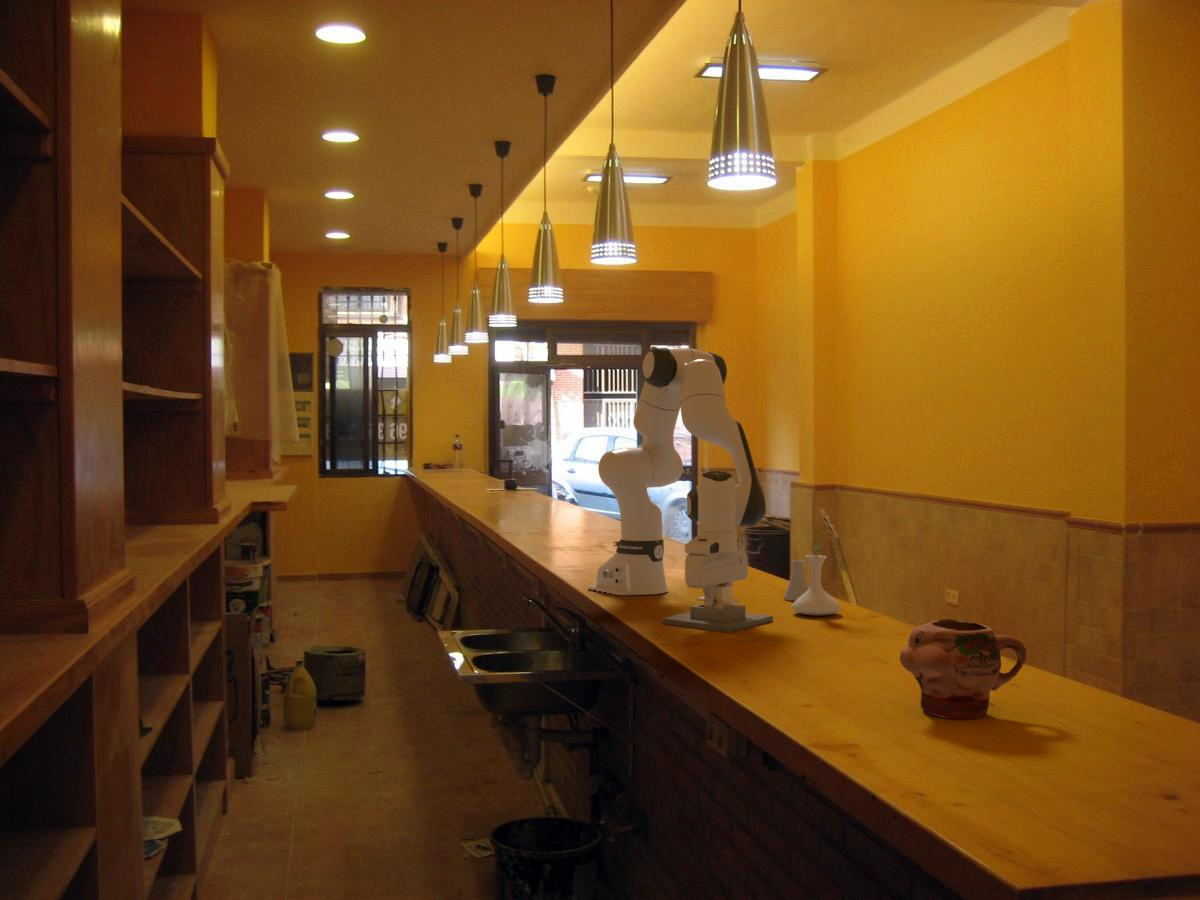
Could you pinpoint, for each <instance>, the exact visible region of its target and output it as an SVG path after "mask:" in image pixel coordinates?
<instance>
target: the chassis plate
mask: <svg viewBox="0 0 1200 900" xmlns="http://www.w3.org/2000/svg"><path fill="white" fill-rule="evenodd" d="M689 608H690V609H689V612H685V613H682V614H676V615H672V616H668V617H663V618H662V625H663V624H665V625H670V626H677V627H684V628H691V629H692V628H693V629H699V630H708V631H714V632H721V633H727V634H728V633H731V632H735V631H740V630H743V629H744V630H745V629H747V628H751V627H756V626H759V625H764V624H767V623H771V622H774V616H773V615H769V614H760V613H752V612H751V613H750V612H746V605H740V604H732V608H727V609H715V608H707V607H704V603H701V604H696V605H691V606H690V607H689Z"/></svg>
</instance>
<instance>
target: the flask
mask: <svg viewBox="0 0 1200 900" xmlns="http://www.w3.org/2000/svg"><path fill="white" fill-rule="evenodd" d="M804 562H805V561H804V560H799V559H798V560H797V559H796V560H794V559H793V560H791V562H790V563H791V564H792V570H791V576H790V580H789V583H788V586H787V589H786V591H785V593H784V596H783V599H784V600H786V601H790V602H791V601H793V602H795V601H796V600H797V599H798V598H799V597H800V596H802V595H803V594H804V593H805V592H806V591H808V589H809V587H808V586H809V585H808V583H807V580H806V578H805V573H804Z"/></svg>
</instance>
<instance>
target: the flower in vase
mask: <svg viewBox="0 0 1200 900" xmlns="http://www.w3.org/2000/svg"><path fill="white" fill-rule="evenodd" d="M819 513H820V515H821V519H822V520H823V525H822V526H821V529H820V531H819V533H818V536H817V538H816V541H815V542H814V543H813V545H812V546H811V548H810V550H812V551H815V554H810V555H805V558H806V560H807V562H808V564H809V569H810V576H811V577H810V580H811V581H810V586H809V587H808V591H806V592H805V593H804V594H803V595H802V596H800V597H799V598H798V599H797V600H796V601H793V603H792V604H791V608H792V610H793V611H795V612H796V613H799V614H802V615H807V616H829V615H834V614H836V613H838V612H840V610H841V605H840V603H839V602H838V601H837V600H836V599H835V598H834V597H832V596H831V595H830V594H829V593H828V592H827V591H826V590H824V588H823V586H822V581H821V579H822V577H821V576H822V568H823V564H824V562H825V560H826V559H827V555H820V554H819V555H818V550H820V549H821V550H823V551H824V549H825V546H824V544H823V542H822V540H820V536H821V534H822V533H823V530H824V529H825V528H827V530H828V531H829V533H830V534H831V536H832V537H834V538H835V539H838V532H837V531H836V530H835V525H834V524H833V523H831V520H830V516H829V515H827V514H826V511H825V509H824V508H820V509H819Z"/></svg>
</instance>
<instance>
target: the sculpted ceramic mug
mask: <svg viewBox="0 0 1200 900" xmlns="http://www.w3.org/2000/svg"><path fill="white" fill-rule="evenodd" d="M908 637H909V638H908V643H907V644H906V646H905V647H904V648H903V649H902V650H901V652H900V653H899V662H900V664H901V665H902V666H903V668H904V669H906V670H907V671H908V672H909V673H911V674H912V675H913V676H914V678H915V680H916V681H917V683H918V684H919V688H920V707H921V710H923V711H925V712H926V713H928V714H930V715H933V716H936V717H939V718H940V717H941V718H946V719H952V720H976V719H980V718H981V719H982V718H984V717H985V716H986V714H987V713H988V710H989V705H990V704H989V702H990V695H991V694H990V692H991V691H993V692H995V691H997V690H998V689H999V688H1001V687H1003V686H1004V685H1005V684H1007V683H1009V682H1010V681H1011V680H1012V679H1014V678H1015V677H1016V676H1017V674H1018V673H1019V672H1020V671H1021V669H1023V665H1024V664H1025V663H1026V658H1027V650H1026V647H1025V644H1024V643H1023V642H1022V641H1021V640H1019V638H1017V637H1014V636H1013V635H1006V634H999V635H997V634H994V629H993V628H992V627H990V626H987V625H985V624H983V623H982V624H981V623H975V622H970V621H961V620H956V619H950V618H945V619H939V620H935V621H930V622H926V623H925V624H921V625H919V626H916V627H915V628H914V629H913V630H912V631H911V634H910V635H909V636H908ZM1003 649H1011V650H1013V651H1014V652H1015V655H1016V658H1017V660H1016V662H1015V664H1014V666H1013V667H1012V668H1011V669H1010V670H1009V671H1007V672H1001V669H1002V658H1001V657H1002V656H1001V651H1002V650H1003Z"/></svg>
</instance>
